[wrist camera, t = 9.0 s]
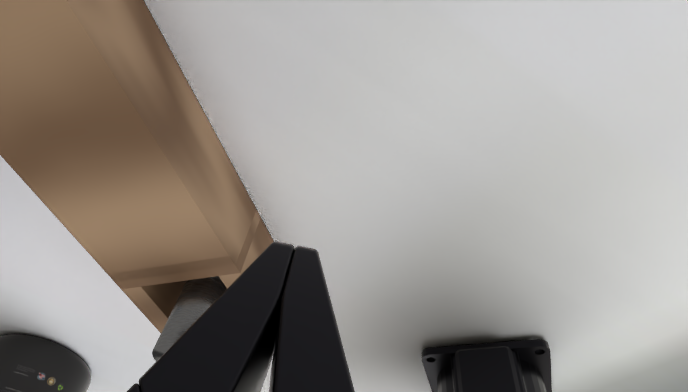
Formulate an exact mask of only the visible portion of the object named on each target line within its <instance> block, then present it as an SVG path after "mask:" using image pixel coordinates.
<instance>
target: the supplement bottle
mask: <svg viewBox="0 0 688 392" xmlns="http://www.w3.org/2000/svg"><path fill="white" fill-rule="evenodd" d="M90 382H91V373H90V370H89V368H88V366H87V364H86V363H85V362H84V361H83V360H82V359H81V358H80V357H79V356H78V355H77V354H75V353H74V352H72V351H71V350H69V349H67V348H66V347H64V346H62V345H59V344H57V343H55V342H52V341H50V340H47V339H44V338H40V337H36V336H31V335H24V334H8V335H3V336H0V392H86V391H87V389H88V387H89V385H90Z"/></svg>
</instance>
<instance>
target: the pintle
mask: <svg viewBox="0 0 688 392" xmlns="http://www.w3.org/2000/svg"><path fill="white" fill-rule="evenodd" d="M226 289H227V288H226V286H225V285H224V283H223V282H222V280H221V279H220V277H219V276H215V277H208V278H200V279H193V280H187V281H186V283H185V285H184V287H183V289H182V291H181V293H180V295H179V297H178V299H177V302H176V304H175V306H174V308H173V310H172V312H171V314H170V316H169V318H168V320H167V322H166V324H165V327H164V329H163V331H162V333H161V335H160V337H159V339H158V341H157V343H156V345H155V347H154V349H153V352H152V354H153V357H154V359H155V360H156V361H157V360H158V359H159V358H160V357H161V356H162V355H163V354H164V353H165V352H166V351H167V350H168V349H169V348H170V347H171V346H172V345H173V344H174V343H175V342H176V341H177V340H178V339H179V338H180V337H181V336H182V335H183V334H184V333H185V332H186V331H187V330H188V329H189V328H190V326H191V325H192V324H193V323H194V322H195V321H196V320H197V319H198V318H199V317H200V316H201V315H202V314H203V313H204V312H205V311H206V310H207V309H208V308H209V307H210V306H211V305H212V304H213V303H214V302H215V301H216V300H217V299H218V298H219V297H220V296H221V295H222V294H223V292H224V291H225V290H226Z"/></svg>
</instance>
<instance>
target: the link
mask: <svg viewBox="0 0 688 392" xmlns="http://www.w3.org/2000/svg"><path fill="white" fill-rule="evenodd" d="M0 155H1V156H2V157H3V158H4V160H5V161H6V162H7V163H8V164H9V165H10V166H11V167H12V168H13V170H14V171H15V172H16V173H17V174H18V175H19V176H20V177H21V178H22V180H23V181H24V182H25V183H26V184H27V185H28V186H29V187H30V188H31V190H32V191H33V192H34V193H35V194H36V195H37V196H38V197H39V198H40V200H41V201H42V202H43V203H44V204H45V205H46V206H47V207H48V208H49V210H50V211H51V212H52V213H53V214H54V215H55V216H56V217H57V218H58V220H59V221H60V222H61V223H62V224H63V225H64V226H65V227H66V228H67V230H68V231H69V232H70V233H71V234H72V235H73V236H74V237H75V238H76V240H77V241H78V242H79V243H80V244H81V245H82V246H83V247H84V248H85V249H86V251H87V252H88V253H89V254H90V255H91V256H92V257H93V258H94V259H95V261H96V262H97V263H98V264H99V265H100V266H101V267H102V268H103V269H104V271H105V272H106V273H107V274H108V275H109V276H110V277H111V278H112V279H113V281H114V282H115V283H116V284H117V285H118V286H119V287H120V288H121V289H122V291H123V292H124V293H125V294H126V295H127V296H128V297H129V298H130V299H131V301H132V302H133V303H134V304H135V305H136V306H137V307H138V308H139V309H140V311H141V312H142V313H143V314H144V315H145V316H146V317H147V318H148V319H149V321H150V322H151V323H152V324H153V325H154V326H155V327H156V328H157V329H158V331H159V332H160V333H162V331H163V329H164V327H165V324H166V322H167V320H168V318H169V316H170V314H171V312H172V310H173V308H174V306H175V304H176V302H177V299H178V297H179V295H180V293H181V291H182V289H183V287H184V285H185V283H186V281H187V280H193V279H200V278H208V277H215V276H219V277H220V279H221V280H222V282H223V283H224V285H225V286H226V288H228V287H229V286H230V285H231V284H232V283H233V282H234V281H235V280H236V279H237V278H238V277H239V276H240V275H241V274H242V273H243V272H244V271H245V270H246V269H247V268H248V267H249V266H250V265H251V264H252V263H253V262H254V261H255V260H256V259H257V257H258V256H259V255H260V254H261V253H262V252H263V251H264V250H265V249H266V248H267V247H268V246H269V245H270V244H271V243H273V242H274V241H273V239H272V237H271V236H270V234H269V232H268V230H267V228H266V226H265V224H264V223H263V221H262V219H261V217H260V215H259V213H258V211H257V210H256V208H255V206H254V204H253V202H252V200H251V198H250V197H249V195H248V193H247V191H246V189H245V187H244V186H243V184H242V182H241V180H240V178H239V176H238V174H237V173H236V171H235V169H234V167H233V165H232V163H231V161H230V160H229V158H228V156H227V154H226V152H225V150H224V148H223V147H222V145H221V143H220V141H219V139H218V137H217V136H216V134H215V132H214V130H213V128H212V126H211V124H210V123H209V121H208V119H207V117H206V115H205V113H204V111H203V110H202V108H201V106H200V104H199V102H198V100H197V98H196V97H195V95H194V93H193V91H192V89H191V87H190V85H189V84H188V82H187V80H186V78H185V76H184V74H183V73H182V71H181V69H180V67H179V65H178V63H177V61H176V60H175V58H174V56H173V54H172V52H171V50H170V48H169V47H168V45H167V43H166V41H165V39H164V37H163V35H162V34H161V32H160V30H159V28H158V26H157V24H156V23H155V21H154V19H153V17H152V15H151V13H150V11H149V10H148V8H147V6H146V4H145V2H144V0H0Z"/></svg>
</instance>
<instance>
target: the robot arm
mask: <svg viewBox="0 0 688 392" xmlns="http://www.w3.org/2000/svg"><path fill="white" fill-rule="evenodd" d="M273 352H274V353H273ZM272 356H273V361H272V368H271V377H270V387H269V392H355V391H354V387H353V384H352V380H351V376H350V372H349V368H348V365H347V361H346V357H345V353H344V349H343V346H342V342H341V338H340V334H339V330H338V327H337V323H336V319H335V315H334V311H333V307H332V304H331V300H330V296H329V292H328V288H327V285H326V281H325V277H324V273H323V269H322V266H321V262H320V258H319V254H318V252H317V250H315V249H311V248H306V247H301V246H297V247H296V248H294V246H293V245H291V244H286V243H281V242H273V243H271V244H270V245H269V246H268V247H267V248H266V249H265V250H264V251H263V252H262V253H261V254H260V255H259V256H258V257H257V259H256V260H255V261H254V262H253V263H252V264H251V265H250V266H249V267H248V268H247V269H246V270H245V271H244V272H243V273H242V274H241V275H240V276H239V277H238V278H237V279H236V280H235V281H234V282H233V283H232V284H231V285H230V286H229V287H228V288H227V289H226V290H225V291H224V292H223V294H222V295H221V296H220V297H219V298H218V299H217V300H216V301H215V302H214V303H213V304H212V305H211V306H210V307H209V308H208V309H207V310H206V311H205V312H204V313H203V314H202V315H201V316H200V317H199V318H198V319H197V320H196V321H195V322H194V323H193V324H192V325H191V326H190V328H189V329H188V330H187V331H186V332H185V333H184V334H183V335H182V336H181V337H180V338H179V339H178V340H177V341H176V342H175V343H174V344H173V345H172V346H171V347H170V348H169V349H168V350H167V351H166V352H165V353H164V354H163V355H162V356H161V357H160V358H159V359H158V360H157V361H156V363H155V364H154V365H153V366H152V367H151V368H150V369H149V370H148V371H147V372H146V373H145V374H144V375H143V376H142V377H141V378H140V379H139V384H134V385H133V386H132V387H131V388H130V389H129V390H128V391H127V392H260V391H261V389H262V386H263V383H264V380H265V378H266V375H267V372H268V369H269V366H270V363H271V360H272ZM422 362H423V365H424V368H425V371H426V374H427V377H428V380H429V383H430V386H431V389H432V392H552V388H551V359H550V349H549V345H548V343H547V342H546V341H545V340H538V339H537V340H525V341H512V342H500V343H487V344H474V345H462V346H449V347H437V348H427V349H424V350H423V351H422Z"/></svg>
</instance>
